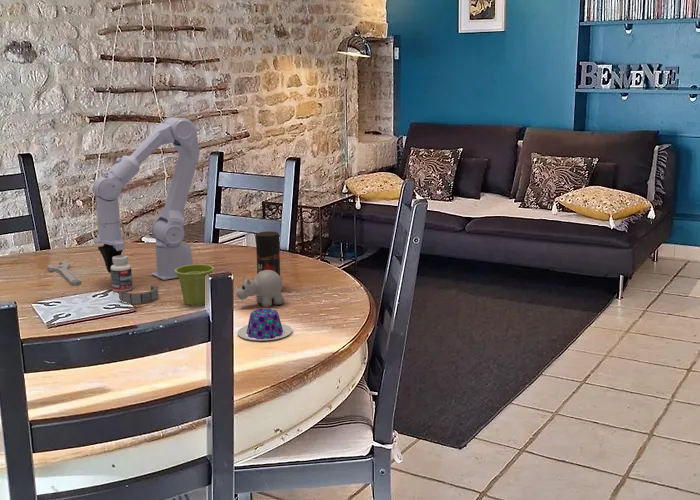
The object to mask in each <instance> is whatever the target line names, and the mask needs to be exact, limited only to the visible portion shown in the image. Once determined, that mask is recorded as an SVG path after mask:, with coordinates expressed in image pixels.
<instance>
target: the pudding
mask: <svg viewBox="0 0 700 500" xmlns="http://www.w3.org/2000/svg"><path fill="white" fill-rule="evenodd" d="M292 332H293V328H292V327H291V326H289V325H287V324H285V323H282V322H281V318H280V315H279V312H278V311H277V310H276V309H273V308H268V307H262V308H258V309H255V310H253V311H251V312H250V315H249V318H248V324H247V325H244V326H243V327H240V328H239V329H238V330H237V335H238V336H240V338H242V339H245V340H251V341H272V340H280V339H283V338H285V337H287V336H289V335H291V334H292Z"/></svg>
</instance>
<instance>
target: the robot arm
mask: <svg viewBox="0 0 700 500" xmlns="http://www.w3.org/2000/svg"><path fill="white" fill-rule="evenodd" d="M167 144H172V145H173V146H174V148H175V149H176V151H177V153H178V157H177V161H176V164H175V168H174V171H173V175H172V177H171V178H172V179H171V182H170V185H169V189H168V192H167V197H166V200H165V203H164V206H163V209H161V211H160V212H159V213H158V216H157V219H156V220H155V221H154V222H153V224H152V226H151V230H150V232H151V235H152V237H153V238H154V239H155V243H154V249H155V261H156V262H155V263H156V271H155V272H152V273H151V276H154V277H155V278H158V279H161V280H162V281H166V280H167V281H168V280H171V279H179V278H178V275H177V273H176V272H175V269H177V268H179V267H182V266H186V265H193V253H192V248H191V246H190V244H189V243H188V242H183V240H184V238H185V230H184V228H185V227H184V226H185V224H186V223H185V222H186V221H185V217H184V211H185V210H184V209H185V206H186V203H187V200H188V197H189V192H190V189H191V185H192V183H193V179H194V176H195V171H196V168H197V164H198V160H199V157H200V153H201V150H200V145H199V140H198V129H197V127H196V126H195V125H194V123H193V122H192V120H191V119H188V118H184V117H182V118H180V117H176V116H167V117H166V118H164V119H163V120H162V122H160V123H159V124H158V125H156V127H154V129H153V130H152V131H151V133H150V134H149V135H148V136H147V137H145V139H144V140H143V141H142V142H141V143H140V144H139V146H137V148H136V149H135V150H134V151H133V152H132V153H131V155H123V156H122V157H119V156H118V157H117V158H116V159H115V163H114V165H113V166H111V168H109V170H107V171H106V170H105V171H104V172H103V173H102V175H103V176H101V177H100V176H99V177H97V178H96V179H95V180H94V182H93V184H92V187H91V191H92V194H93V195H94V196H95V200H96V203H95V204H96V206H95V207H96V217H97V233H98V234H96V239H94V243H95V244H102V245H101V246H98V247H97V250H98V251H99V252H100V254H101V256H102V258H103V261H104V264H105V268H106V270H107V271H106V272H108V273H109V274H111V266H112V265H113V264H114V263H113V261H112V257H114V256H118V255H122V252H123V251H124V250H125V242H124V241H123V237H122V231H121V229H122V227H121V218H120V204H119V197H120V196H121V193H122V189H123V188H124V187H125V186H127V184H128V183H129V182H130V181H132V180H133V178H134V177H135V176H136V175H137V174H138V173H140V165H141V164H142V163H144V161H145V160H147V159H148V158H149V157H150V156H151V155H152V154H153V153H154V152H155V151H156V150H158V149H159V148H160V147H161V146H162V145H167Z"/></svg>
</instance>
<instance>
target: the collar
mask: <svg viewBox="0 0 700 500" xmlns="http://www.w3.org/2000/svg"><path fill="white" fill-rule="evenodd" d="M117 293H118V300H119V299H120V300H121V301H123V302H127V303H129V304H128V305H142V304H149V303H153V302H154V301H156V300H158V299H159V297H160V296H159V287H158V286H157V285H155V284H153V285H150V290H149V291H144V292H131V293H130V292H126V291H125V292H124V291H118V292H117Z"/></svg>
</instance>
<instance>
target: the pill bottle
mask: <svg viewBox="0 0 700 500" xmlns="http://www.w3.org/2000/svg"><path fill="white" fill-rule="evenodd" d="M112 261H113V263H114V264H113V265H112V266H111V273H110V280H111V290H112V291H113V292H117V293H119V292H118V291H124V292H125V293H126V292H129V291H131V290H132V289H133V275H132V273H133V272H132V265H131V264H129V256H128V255H126V254H125V255H124V254H121V255H118V256H114V257H112Z"/></svg>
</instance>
